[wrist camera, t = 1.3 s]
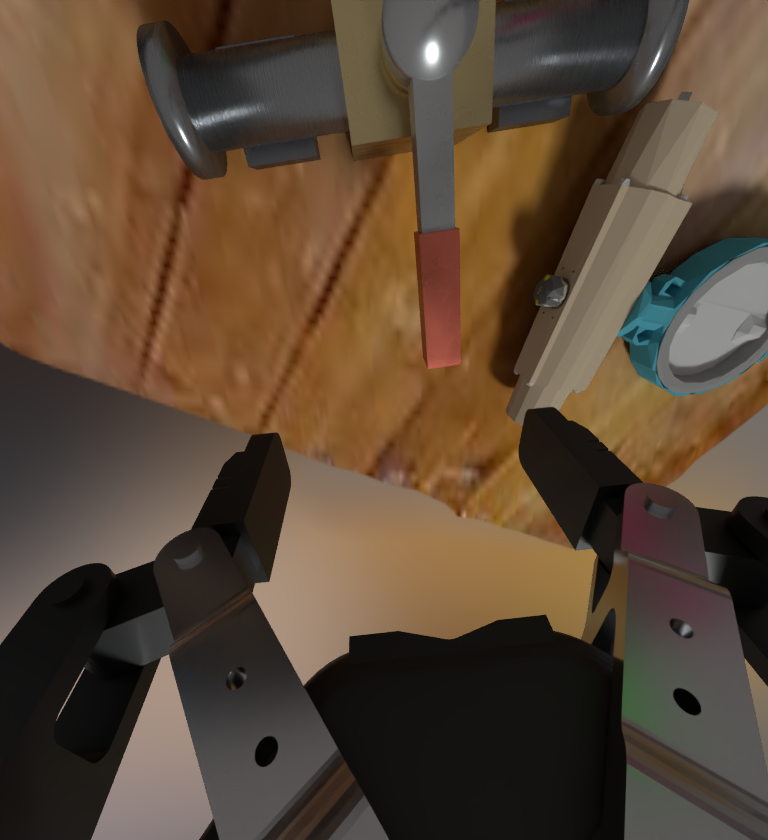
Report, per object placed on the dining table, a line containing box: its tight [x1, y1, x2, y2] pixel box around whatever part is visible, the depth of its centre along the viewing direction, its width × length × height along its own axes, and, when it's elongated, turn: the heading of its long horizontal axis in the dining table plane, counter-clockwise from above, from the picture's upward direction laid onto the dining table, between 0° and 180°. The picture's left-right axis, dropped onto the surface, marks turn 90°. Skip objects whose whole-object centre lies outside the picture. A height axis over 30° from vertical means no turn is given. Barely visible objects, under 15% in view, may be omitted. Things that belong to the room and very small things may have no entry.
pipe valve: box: [137, 0, 689, 180], centre depth 20 cm, size 28×7×10 cm, turn 97°
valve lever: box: [380, 0, 479, 369], centre depth 19 cm, size 18×4×2 cm, turn 7°
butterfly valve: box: [506, 92, 768, 425], centre depth 33 cm, size 27×7×30 cm
